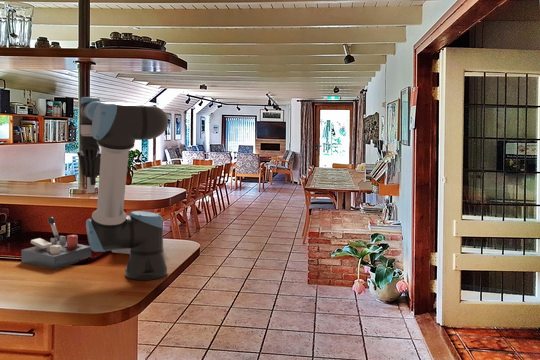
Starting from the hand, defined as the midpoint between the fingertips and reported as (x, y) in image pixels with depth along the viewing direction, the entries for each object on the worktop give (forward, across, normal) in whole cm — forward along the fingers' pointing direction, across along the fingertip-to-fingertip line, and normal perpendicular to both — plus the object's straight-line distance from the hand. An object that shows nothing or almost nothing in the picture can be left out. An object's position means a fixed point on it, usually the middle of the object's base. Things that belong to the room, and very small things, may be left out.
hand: (91, 192), depth 194 cm
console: (+26, +5, +13) cm, 30 cm away
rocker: (+19, +9, +17) cm, 27 cm away
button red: (+22, +1, +9) cm, 24 cm away
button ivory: (+24, +1, +17) cm, 30 cm away
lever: (+20, +9, +9) cm, 24 cm away
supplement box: (+27, -8, -12) cm, 30 cm away
